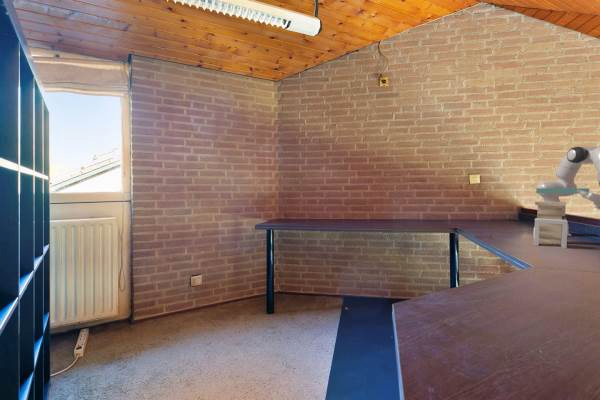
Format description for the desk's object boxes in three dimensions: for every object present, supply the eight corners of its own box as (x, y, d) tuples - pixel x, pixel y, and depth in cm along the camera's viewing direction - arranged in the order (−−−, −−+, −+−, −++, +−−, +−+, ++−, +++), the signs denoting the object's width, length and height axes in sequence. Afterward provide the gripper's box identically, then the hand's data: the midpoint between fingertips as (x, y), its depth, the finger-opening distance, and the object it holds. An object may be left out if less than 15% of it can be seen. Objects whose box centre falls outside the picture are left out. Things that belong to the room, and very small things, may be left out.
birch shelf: (533, 240, 208) (534, 201, 206) (562, 242, 199) (564, 202, 197) (533, 241, 201) (535, 202, 200) (564, 244, 192) (565, 202, 191)
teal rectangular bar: (536, 193, 193) (536, 188, 193) (588, 193, 179) (588, 188, 179) (536, 193, 191) (536, 188, 191) (589, 193, 177) (589, 188, 177)
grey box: (534, 243, 197) (535, 218, 196) (564, 245, 188) (566, 219, 187) (534, 245, 191) (535, 219, 190) (566, 248, 182) (567, 221, 181)
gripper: (604, 197, 182) (577, 185, 188) (612, 198, 165) (583, 185, 172) (596, 206, 184) (570, 194, 190) (604, 208, 167) (575, 195, 174)
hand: (576, 190), depth 181 cm, fingers closed on teal rectangular bar, 3 cm apart
